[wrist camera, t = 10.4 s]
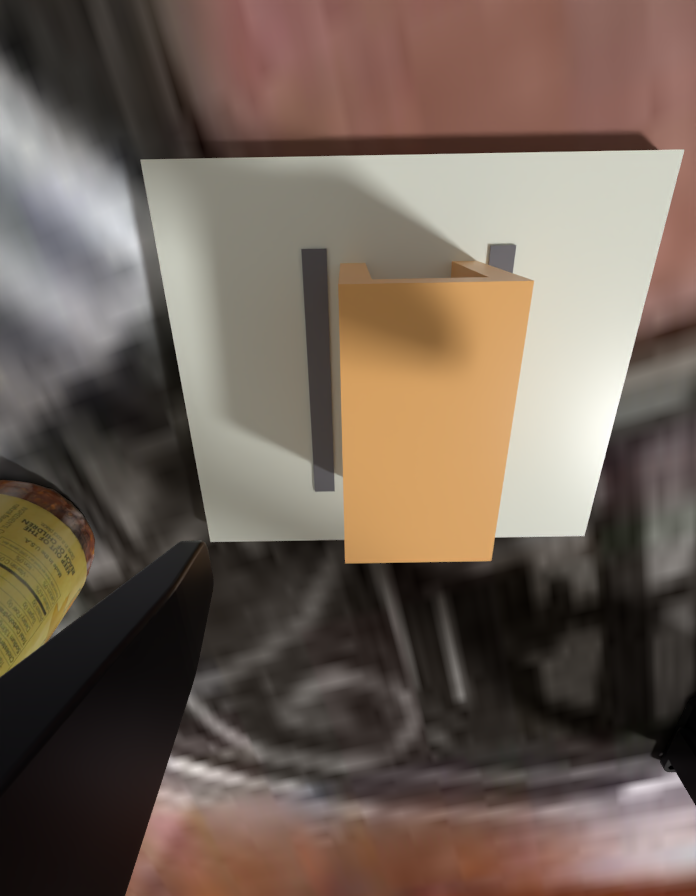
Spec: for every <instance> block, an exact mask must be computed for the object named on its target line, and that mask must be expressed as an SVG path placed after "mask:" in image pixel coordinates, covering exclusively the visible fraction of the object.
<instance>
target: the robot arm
mask: <svg viewBox="0 0 696 896" xmlns="http://www.w3.org/2000/svg"><path fill="white" fill-rule="evenodd" d="M212 592H213V574H212V568H211V563H210V558H209V553H208V548H207V545H206V543H205V542H203V541H181V542H179V543H178V544H176V545H175V546H174V547H172V548H171V549H170V550H168V551H167V552H166V553H164V554H163V555H162V556H160V557H159V558H158V559H156V560H155V561H154V562H152V563H151V564H150V565H148V566H147V567H146V568H144V569H143V570H142V571H140V572H139V573H138V574H136V575H135V576H134V577H132V578H131V579H130V580H128V581H127V582H126V583H124V584H123V585H122V586H120V587H119V588H118V589H116V590H115V591H114V592H112V593H111V594H110V595H108V596H107V597H106V598H104V599H103V600H102V601H100V602H99V603H98V604H96V605H95V606H94V607H93V608H91V609H90V610H89V611H87V612H86V613H85V614H83V615H82V616H81V617H79V618H78V619H77V620H75V621H74V622H73V623H71V624H70V625H69V626H67V627H66V628H65V629H63V630H62V631H61V632H59V633H58V634H57V635H55V636H54V637H53V638H51V639H50V640H49V641H47V642H46V643H45V644H43V645H42V646H41V647H39V648H38V649H37V650H35V651H34V652H33V653H31V654H30V655H29V656H27V657H26V658H25V659H23V660H22V661H21V662H19V663H18V664H17V665H15V666H14V667H13V668H11V669H10V670H9V671H7V672H6V673H5V674H3V675H2V676H1V677H0V896H125V894H126V891H127V888H128V885H129V882H130V879H131V875H132V872H133V869H134V866H135V863H136V860H137V857H138V854H139V851H140V847H141V844H142V841H143V838H144V835H145V832H146V829H147V826H148V822H149V819H150V816H151V813H152V810H153V807H154V804H155V801H156V798H157V794H158V791H159V788H160V785H161V782H162V779H163V776H164V773H165V769H166V766H167V763H168V760H169V757H170V754H171V751H172V748H173V745H174V741H175V738H176V735H177V732H178V729H179V726H180V723H181V720H182V716H183V713H184V710H185V707H186V704H187V701H188V698H189V695H190V692H191V688H192V685H193V682H194V678H195V675H196V670H197V666H198V662H199V657H200V652H201V647H202V642H203V637H204V632H205V627H206V622H207V617H208V612H209V607H210V602H211V597H212ZM660 763H661V765H662V766H663V768H664V770H665V771H667V772H676V773H677V775H678V777H679V778H680V780H681V782H682V783H683V785H684V787H685V788H686V790H687V792H688V793H689V795H690V797H691V798H692V800H693V802H694V803H695V805H696V697H694V698H692V699H690V700H689V702H688V704H687V706H686V708H685V710H684V712H683V714H682V716H681V718H680V720H679V722H678V725H677V727H676V729H675V731H674V733H673V735H672V737H671V739H670V741H669V744H668V746H667V748H666V750H665V752H664V754H663V756H662V758H661V760H660Z"/></svg>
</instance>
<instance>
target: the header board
mask: <svg viewBox="0 0 696 896" xmlns="http://www.w3.org/2000/svg"><path fill="white" fill-rule="evenodd" d="M683 153H684V150H634V151H580V152H525V153H471V154H416V155H362V156H307V157H252V158H198V159H143V160H140V161H141V166H142V172H143V177H144V183H145V188H146V194H147V199H148V205H149V210H150V215H151V221H152V226H153V232H154V237H155V243H156V248H157V254H158V259H159V264H160V270H161V275H162V281H163V286H164V292H165V297H166V303H167V308H168V313H169V319H170V324H171V330H172V335H173V341H174V346H175V352H176V357H177V362H178V368H179V373H180V379H181V384H182V390H183V395H184V401H185V406H186V411H187V417H188V422H189V428H190V433H191V439H192V444H193V450H194V455H195V460H196V466H197V471H198V477H199V482H200V488H201V493H202V499H203V504H204V509H205V515H206V520H207V526H208V531H209V537H210V542H239V541H301V540H344V500H343V459H342V418H341V378H340V337H339V297H338V281H339V272H340V263H365V264H366V266H367V268H368V271H369V273H370V276H371V278H372V279H415V278H451V269H452V261H479V262H482V263H485V264H488V265H490V266H493V267H496V268H499V269H502V270H505V271H508V272H510V273H513V274H516V275H519V276H522V277H525V278H528V279H531V280H533V281H534V285H533V292H532V299H531V305H530V312H529V318H528V325H527V331H526V338H525V344H524V351H523V357H522V364H521V370H520V377H519V383H518V390H517V396H516V403H515V409H514V416H513V422H512V429H511V435H510V442H509V448H508V455H507V462H506V468H505V475H504V481H503V488H502V494H501V501H500V507H499V514H498V520H497V527H496V533H495V537H549V536H584V535H585V531H586V527H587V523H588V520H589V516H590V512H591V508H592V504H593V500H594V496H595V493H596V489H597V485H598V481H599V477H600V473H601V469H602V466H603V462H604V458H605V454H606V450H607V446H608V442H609V439H610V435H611V431H612V427H613V423H614V419H615V415H616V412H617V408H618V404H619V400H620V396H621V392H622V388H623V385H624V381H625V377H626V373H627V369H628V365H629V361H630V358H631V354H632V350H633V346H634V342H635V338H636V334H637V331H638V327H639V323H640V319H641V315H642V311H643V307H644V304H645V300H646V296H647V292H648V288H649V284H650V280H651V277H652V273H653V269H654V265H655V261H656V257H657V253H658V250H659V246H660V242H661V238H662V234H663V230H664V226H665V223H666V219H667V215H668V211H669V207H670V203H671V199H672V196H673V192H674V188H675V184H676V180H677V176H678V172H679V169H680V165H681V161H682V157H683Z"/></svg>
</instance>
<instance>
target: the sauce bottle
mask: <svg viewBox="0 0 696 896" xmlns="http://www.w3.org/2000/svg"><path fill="white" fill-rule="evenodd" d="M94 544H95V539H94V535H93V532H92V530H91V528H90V526H89V524H88V522H87V520H86V519H85V518H84V516H83V514H82V513H81V512H80V511H78V509H77V508H75V507H74V505H73V504H72V503H71V501H68V500H67V499H66V498H64V497H63V496H61V495H60V494H59V493H58V492H56V491H55V490H54V489H51V488H46V487H43V486H40V485H36V484H33V483H27V482H20V481H8V480H0V677H1V676H2V675H3V674H5V673H6V672H7V671H9V670H10V669H11V668H13V667H14V666H15V665H17V664H18V663H19V662H21V661H22V660H23V659H25V658H26V657H27V656H29V655H30V654H31V653H33V652H34V651H35V650H37V649H38V648H39V647H41V646H42V645H43V644H45V643H46V642H47V641H48V640H49V638H50V637H51V635H52V634H53V632H54V630H55V629H56V627H57V626H58V624H59V623H60V621H61V620H62V618H63V617H64V615H65V614H66V612H67V611H68V609H69V608H70V606H71V605H72V603H73V602H74V600H75V599H76V597H77V596H78V594H79V592H80V591H81V589H82V587H83V585H84V583H85V580H86V577H87V575H88V573H89V569H90V567H91V563H92V561H93V559H94Z"/></svg>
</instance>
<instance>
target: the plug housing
mask: <svg viewBox="0 0 696 896" xmlns="http://www.w3.org/2000/svg"><path fill="white" fill-rule="evenodd" d="M533 285H534V281H533V280H531V279H528V278H525V277H522V276H519V275H516V274H513V273H510V272H508V271H505V270H502V269H499V268H496V267H493V266H490V265H488V264H485V263H482V262H479V261H452V269H451V278H415V279H372V278H371V276H370V273H369V271H368V268H367V266H366V264H365V263H340V272H339V281H338V297H339V337H340V378H341V418H342V459H343V500H344V540H345V563H403V562H464V561H491V559H492V553H493V546H494V540H495V533H496V527H497V520H498V514H499V507H500V501H501V494H502V488H503V481H504V475H505V468H506V462H507V455H508V448H509V442H510V435H511V429H512V422H513V416H514V409H515V403H516V396H517V390H518V383H519V377H520V370H521V364H522V357H523V351H524V344H525V338H526V331H527V325H528V318H529V312H530V305H531V299H532V292H533Z"/></svg>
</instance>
